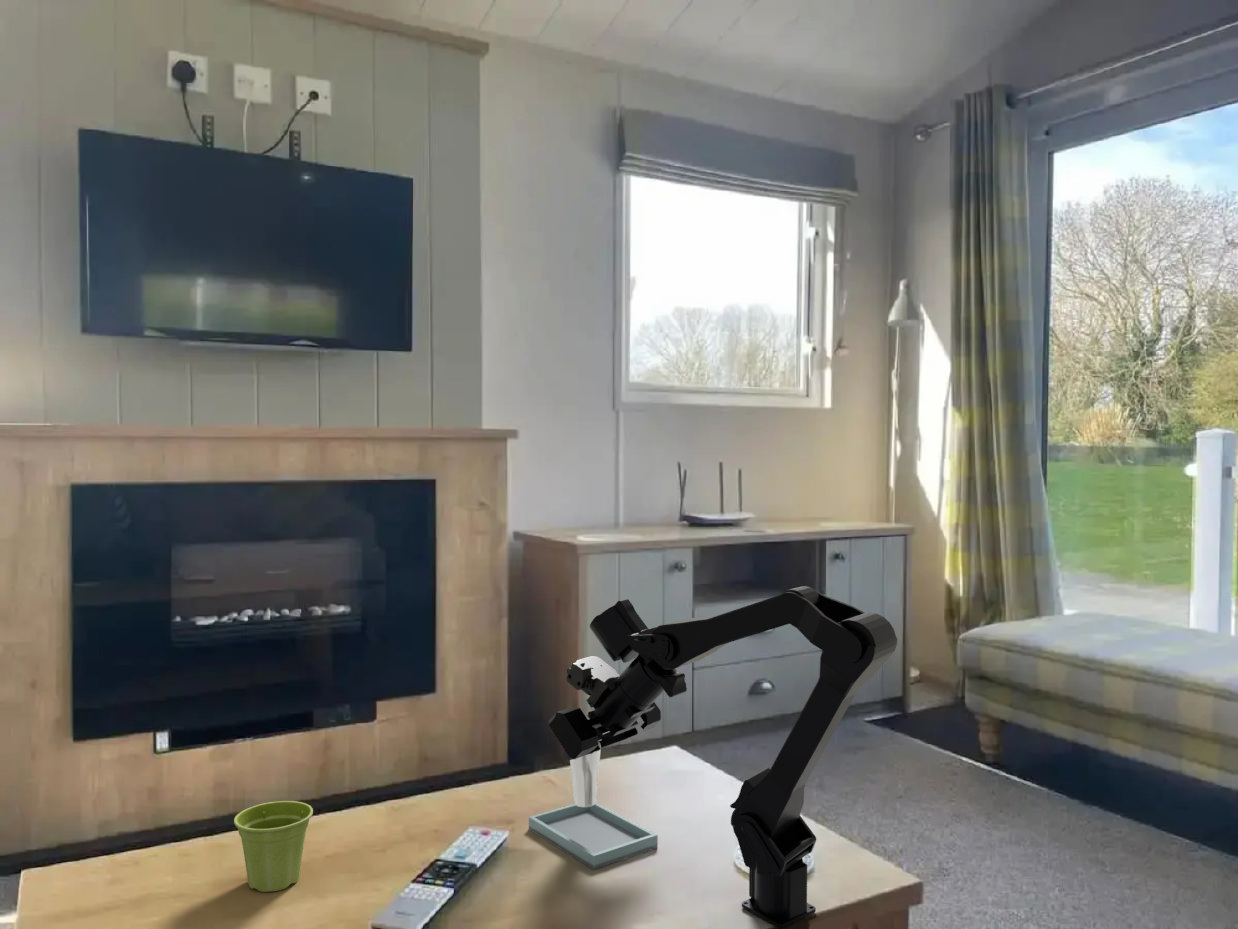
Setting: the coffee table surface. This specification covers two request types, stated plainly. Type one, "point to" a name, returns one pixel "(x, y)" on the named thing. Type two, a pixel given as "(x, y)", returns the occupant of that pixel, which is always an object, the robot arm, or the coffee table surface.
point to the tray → (593, 834)
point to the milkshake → (585, 779)
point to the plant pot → (273, 842)
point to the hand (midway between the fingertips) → (575, 754)
